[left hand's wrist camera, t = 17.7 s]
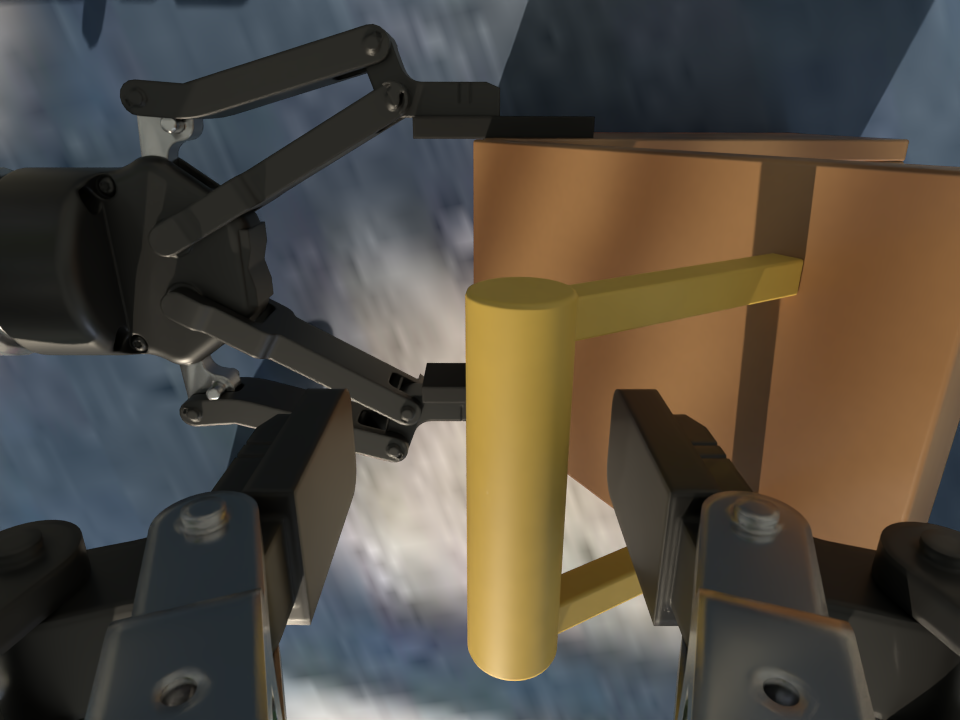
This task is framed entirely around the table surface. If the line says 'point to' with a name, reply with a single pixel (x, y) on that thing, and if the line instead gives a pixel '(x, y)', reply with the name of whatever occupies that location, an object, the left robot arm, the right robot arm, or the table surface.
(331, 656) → the table surface
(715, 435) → the lid
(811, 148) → the chest
